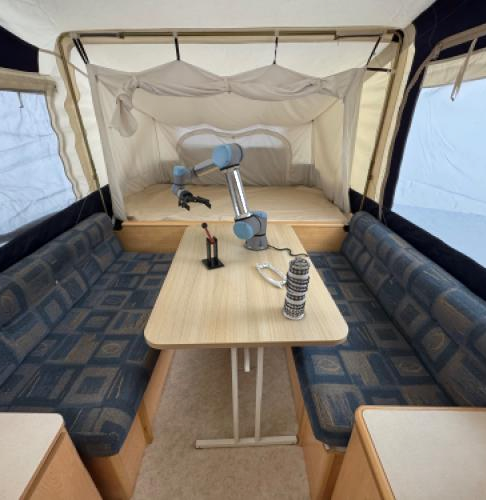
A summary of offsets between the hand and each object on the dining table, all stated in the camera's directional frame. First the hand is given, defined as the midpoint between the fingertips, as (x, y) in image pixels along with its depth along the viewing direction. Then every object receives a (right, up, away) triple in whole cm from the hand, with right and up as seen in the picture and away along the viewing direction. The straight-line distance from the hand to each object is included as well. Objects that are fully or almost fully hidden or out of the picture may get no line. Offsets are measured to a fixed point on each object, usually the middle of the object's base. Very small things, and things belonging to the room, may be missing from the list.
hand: (200, 207), depth 153 cm
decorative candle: (+45, -51, -41) cm, 80 cm away
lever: (+5, -16, -4) cm, 17 cm away
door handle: (+39, -38, -14) cm, 57 cm away
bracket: (+7, -32, -2) cm, 33 cm away
